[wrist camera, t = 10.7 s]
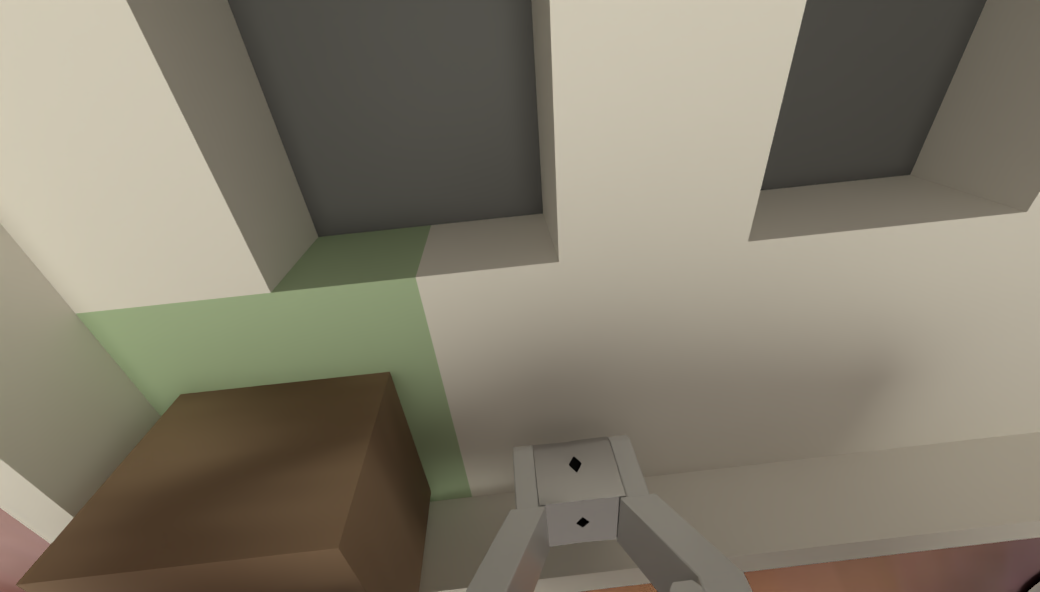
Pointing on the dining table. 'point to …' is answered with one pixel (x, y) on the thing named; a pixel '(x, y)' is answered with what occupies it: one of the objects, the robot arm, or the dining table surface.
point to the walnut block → (256, 498)
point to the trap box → (544, 252)
